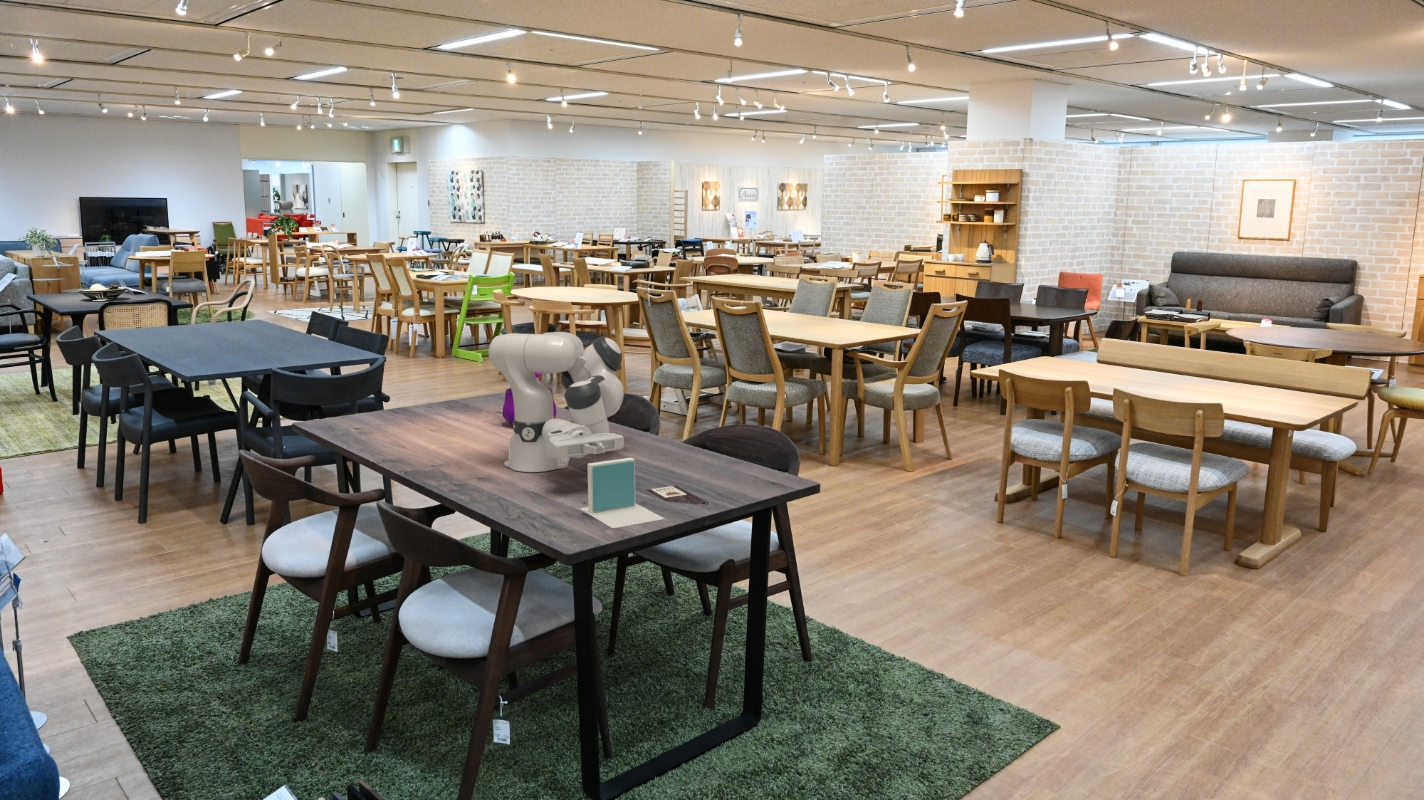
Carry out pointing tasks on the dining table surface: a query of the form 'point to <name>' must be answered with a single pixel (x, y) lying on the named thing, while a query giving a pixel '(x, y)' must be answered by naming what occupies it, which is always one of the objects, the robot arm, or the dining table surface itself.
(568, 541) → the dining table surface
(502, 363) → the robot arm
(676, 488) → the chocolate bar
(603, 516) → the mat
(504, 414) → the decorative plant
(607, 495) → the tile
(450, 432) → the dining table surface
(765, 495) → the dining table surface
